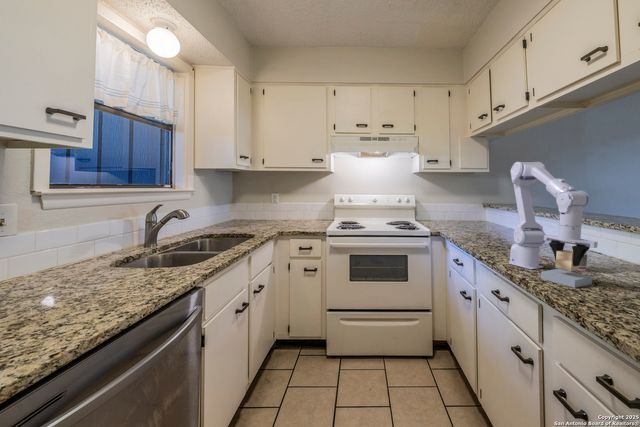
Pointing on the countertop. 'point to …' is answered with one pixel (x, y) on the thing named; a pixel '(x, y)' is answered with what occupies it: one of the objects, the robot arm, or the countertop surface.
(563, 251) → the maple cube
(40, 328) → the countertop surface
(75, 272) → the countertop surface
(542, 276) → the slate-blue block
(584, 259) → the pill bottle
